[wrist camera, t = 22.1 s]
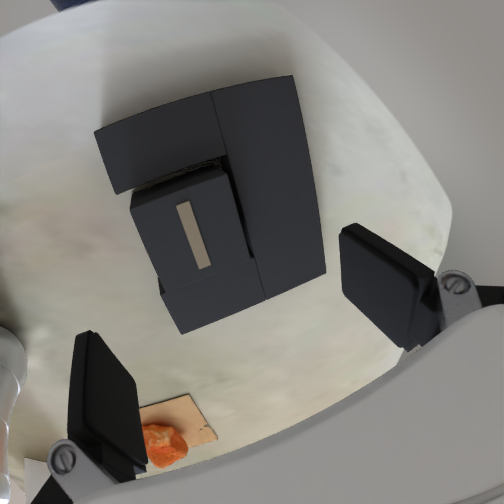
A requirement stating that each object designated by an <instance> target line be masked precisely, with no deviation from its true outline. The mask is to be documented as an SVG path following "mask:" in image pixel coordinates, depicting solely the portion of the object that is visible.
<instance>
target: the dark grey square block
mask: <svg viewBox="0 0 504 504" xmlns="http://www.w3.org/2000/svg"><path fill="white" fill-rule="evenodd" d="M130 213H131V215H132V218H133V220H134V223H135V225H136V227H137V230H138V232H139V234H140V237H141V239H142V242H143V244H144V246H145V248H146V251H147V253H148V255H149V257H150V260H151V262H152V264H153V266H154V268H155V271H156V273H157V275H158V277H159V279H160V281H161V283H162V286H163V288H164V290H165V292H166V293H167V292H170V291H172V290H175V289H177V288H180V287H182V286H185V285H187V284H190V283H193V282H195V281H198V280H200V279H203V278H205V277H208V276H210V275H213V274H215V273H218V272H220V271H223V270H225V269H228V268H230V267H233V266H235V265H238V264H240V263H243V262H245V261H248V260H250V254H249V251H248V247H247V243H246V240H245V236H244V233H243V229H242V225H241V222H240V218H239V214H238V211H237V207H236V203H235V200H234V196H233V192H232V189H231V185H230V182H229V178H228V174H227V173H225V172H224V171H222V170H220V169H219V168H217V167H215V166H214V165H209V166H206V167H203V168H200V169H197V170H194V171H191V172H188V173H185V174H183V175H180V176H177V177H174V178H172V179H169V180H166V181H164V182H161V183H158V184H156V185H153V186H150V187H148V188H145V189H143V190H140V191H138V192H135V193H133V194H132V198H131V204H130Z"/></svg>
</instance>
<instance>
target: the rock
mask: <svg viewBox="0 0 504 504" xmlns="http://www.w3.org/2000/svg"><path fill="white" fill-rule="evenodd" d="M139 411H140V417H141V424H142V430H143V436H144V441H145V447H146V452H147V457H149V458H150V460H151V461H152V462H153V464H154V465H155V466H156V467H159V468H165V467H167V466H168V465H171V464H172V463H173V462H175V461H177V460H179V459H182V458H184V457H185V456H186V455H187V452H188V448H190V447H193V446H197V445H200V444H204V443H206V442H210V441H213V440H217V439H218V438H217V437H216V435H215V434H214V432H213V431H212V430H211V428H210V427H205V426H204V425H208V424H207V422H206V421H205V419H204V418H203V416H202V415H201V413H200V412H199V410H198V409H197V407H196V405H195V404H194V403H193V401H192V399H191V397H190V396H189V395H186V396H183V397H180V398H176V399H173V400H169V401H166V402H163V403H159V404H155V405H152V406H148V407H144V408H140V409H139ZM201 428H202V430H201Z"/></svg>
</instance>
